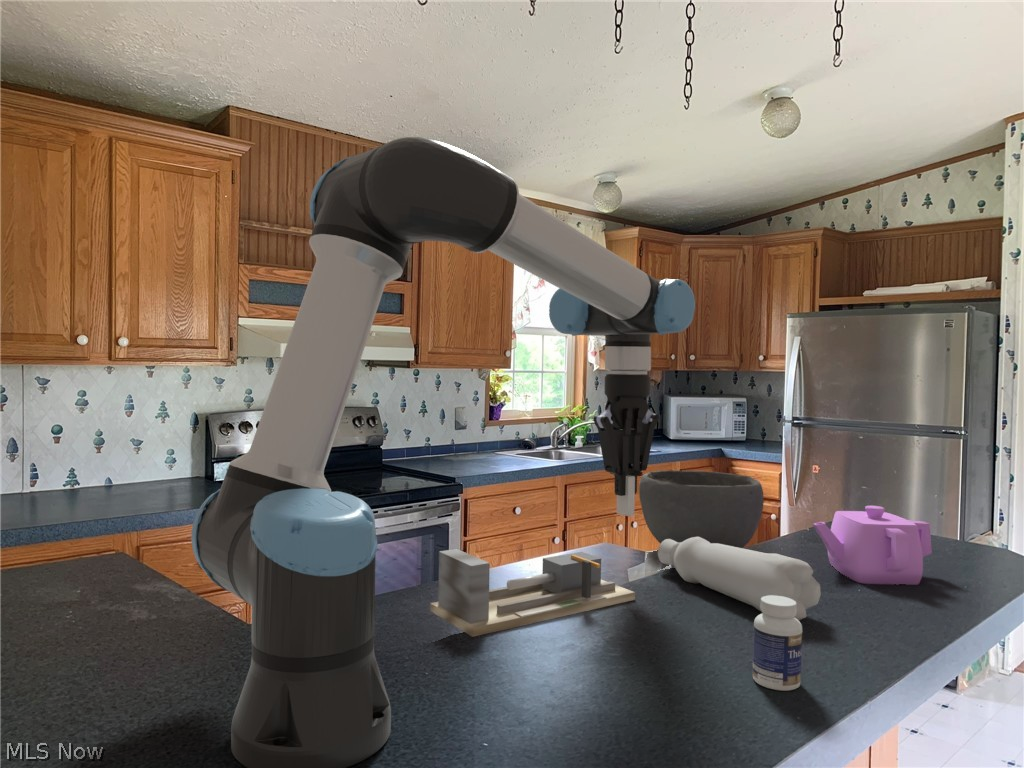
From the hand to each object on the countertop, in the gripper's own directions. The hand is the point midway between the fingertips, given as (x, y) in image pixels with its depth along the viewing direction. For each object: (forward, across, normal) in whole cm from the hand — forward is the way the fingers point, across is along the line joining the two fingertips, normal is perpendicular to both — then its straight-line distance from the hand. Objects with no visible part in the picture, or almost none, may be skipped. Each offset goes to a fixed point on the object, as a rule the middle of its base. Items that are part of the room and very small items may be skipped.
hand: (625, 514), depth 123 cm
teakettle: (+13, -45, +17) cm, 50 cm away
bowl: (+13, -30, -10) cm, 34 cm away
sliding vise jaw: (+11, +15, +2) cm, 19 cm away
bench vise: (+12, +18, 0) cm, 22 cm away
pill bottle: (+12, +10, +37) cm, 40 cm away
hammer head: (+10, +13, +5) cm, 17 cm away
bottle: (+13, -12, +12) cm, 21 cm away
